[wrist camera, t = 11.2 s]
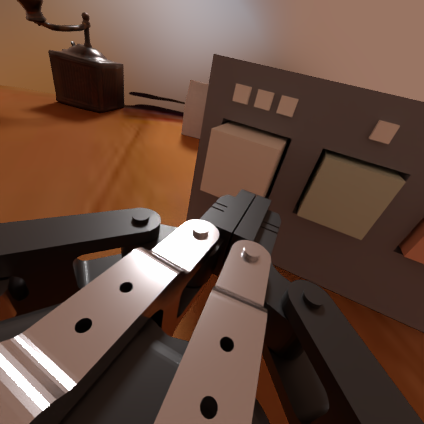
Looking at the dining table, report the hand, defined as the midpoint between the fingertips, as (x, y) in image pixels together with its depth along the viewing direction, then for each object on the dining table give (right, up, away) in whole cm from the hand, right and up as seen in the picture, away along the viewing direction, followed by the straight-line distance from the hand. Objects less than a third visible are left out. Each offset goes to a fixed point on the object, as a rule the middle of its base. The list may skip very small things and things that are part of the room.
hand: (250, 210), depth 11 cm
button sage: (+7, 0, +6) cm, 10 cm away
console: (+7, -4, +12) cm, 14 cm away
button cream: (0, +2, +7) cm, 7 cm away
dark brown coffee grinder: (-31, +24, +39) cm, 55 cm away
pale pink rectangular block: (-5, +16, +37) cm, 41 cm away
